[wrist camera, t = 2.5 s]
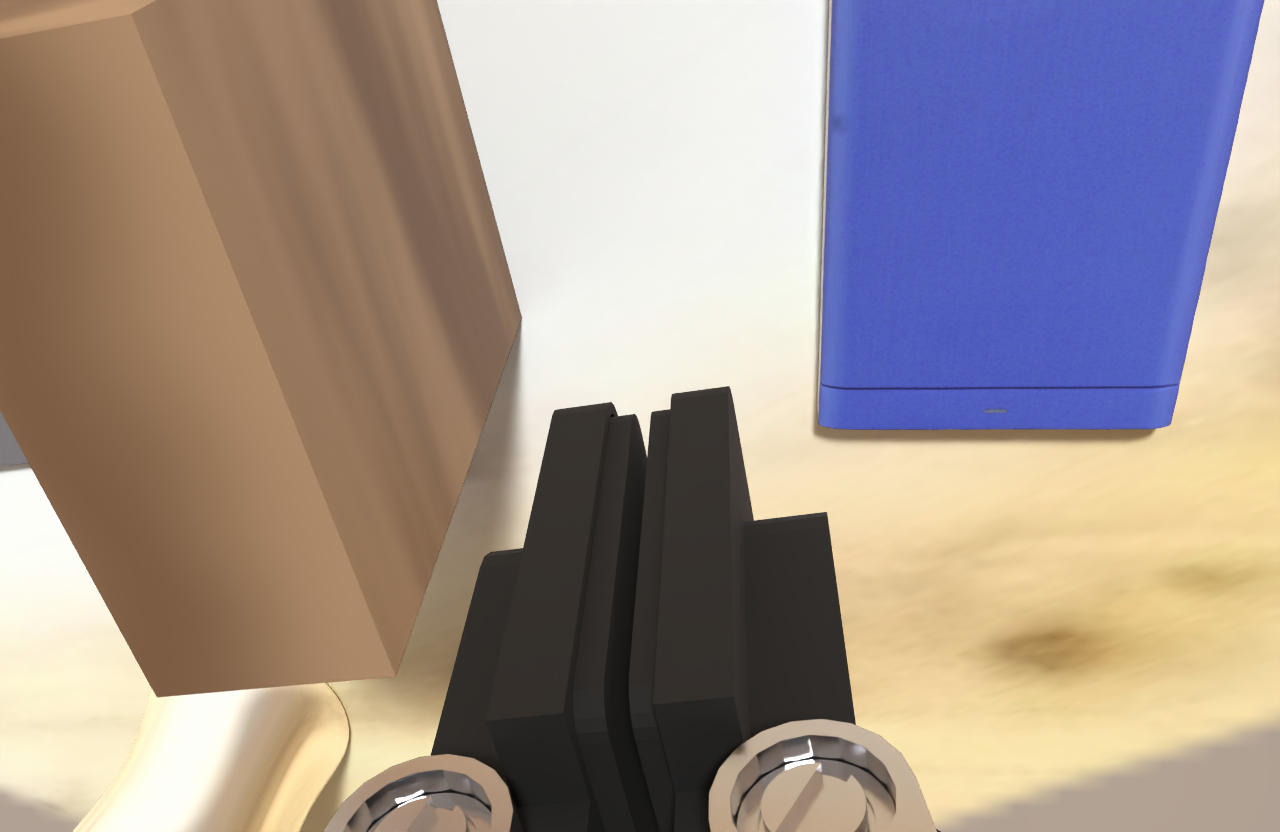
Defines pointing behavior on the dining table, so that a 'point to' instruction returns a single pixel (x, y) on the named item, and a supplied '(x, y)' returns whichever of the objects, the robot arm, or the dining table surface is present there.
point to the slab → (247, 319)
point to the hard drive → (1020, 207)
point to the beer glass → (226, 762)
